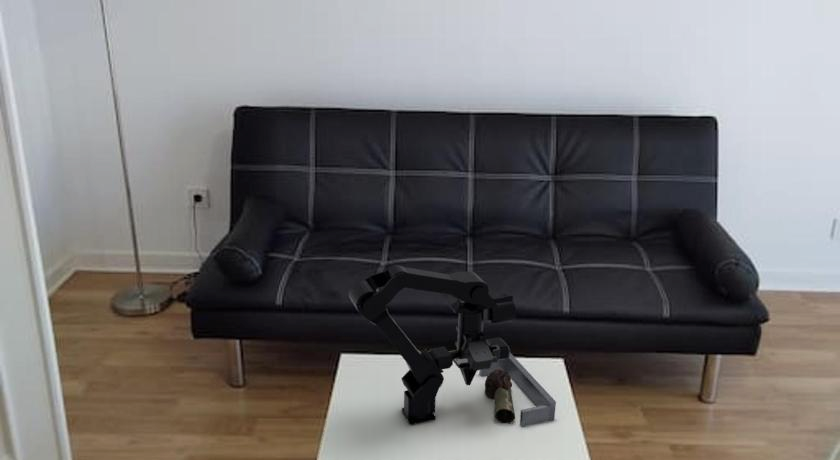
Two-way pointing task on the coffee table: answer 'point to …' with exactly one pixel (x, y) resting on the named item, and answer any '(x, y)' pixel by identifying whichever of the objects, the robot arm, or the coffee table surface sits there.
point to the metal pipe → (500, 395)
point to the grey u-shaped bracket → (526, 391)
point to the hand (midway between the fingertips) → (467, 384)
